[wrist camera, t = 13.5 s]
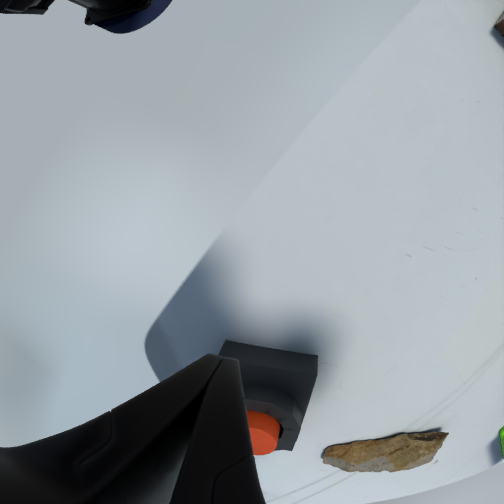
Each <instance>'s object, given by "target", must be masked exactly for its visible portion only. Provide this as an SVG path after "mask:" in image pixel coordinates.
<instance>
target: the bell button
mask: <svg viewBox="0 0 504 504" xmlns="http://www.w3.org/2000/svg"><path fill="white" fill-rule="evenodd" d="M247 417H248V423H249V429H250V435H251V441H252V447H253V453H254V454H253V455H265V454H269V453H271V452H273V451H274V450H275V449H276V447H277V442H278V437H279V431H280V425H279V423H278V421H277V420H276V419H275V418H273V417H271V416H269V415H267V414H266V413H260V412H255V411H247Z"/></svg>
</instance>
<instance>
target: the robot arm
mask: <svg viewBox="0 0 504 504" xmlns="http://www.w3.org/2000/svg"><path fill="white" fill-rule="evenodd" d="M69 1H71V2H73V3H76V4H78V5H80V6H82V7H85V8H87V9H88V10H87V14H86V18H85V24H86V25H93V24H96V23H99V22H102V21H105V20H108V19H112V18H115V17H118V16H122V15H126V14H129V13H133V12H137V11H142V10H145V9H147V8H149V7H150V5H151V2H152V0H69ZM53 2H54V0H0V13H3V14H4V13H5V14H41V15H42V14H44V13H45V12H46V11H47V10H48V7H49V6H50V5H51V4H52V3H53ZM144 3H145V4H144ZM143 4H144V5H143ZM253 454H254V453H253V447H252V441H251V435H250V429H249V423H248V417H247V410H246V404H245V398H244V391H243V384H242V378H241V371H240V364H239V360H237V359H233V358H228V357H224V358H223V357H222V356H219V355H214V354H207V355H205V356H203V357H202V358H200V359H198V360H197V361H195V362H193V363H192V364H190V365H189V366H187V367H185V368H184V369H182V370H180V371H179V372H177V373H175V374H174V375H172V376H170V377H169V378H167V379H165V380H163V381H162V382H160V383H158V384H157V385H155V386H153V387H151V388H150V389H148V390H146V391H144V392H143V393H141V394H139V395H137V396H135V397H134V398H132V399H130V400H128V401H127V402H125V403H123V404H121V405H119V406H117V407H116V408H114V409H112V410H111V412H110V411H108V412H106V413H104V414H102V415H100V416H98V417H97V418H94V419H92V420H90V421H88V422H86V423H84V424H82V425H79V426H77V427H74V428H72V429H70V430H67V431H64V432H62V433H59V434H56V435H53V436H50V437H47V438H44V439H41V440H38V441H35V442H32V443H29V444H25V445H22V446H17V447H9V448H8V447H7V448H3V447H0V504H266V503H265V500H264V497H263V494H262V490H261V487H260V483H259V479H258V474H257V470H256V464H255V458H254V456H253Z"/></svg>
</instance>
